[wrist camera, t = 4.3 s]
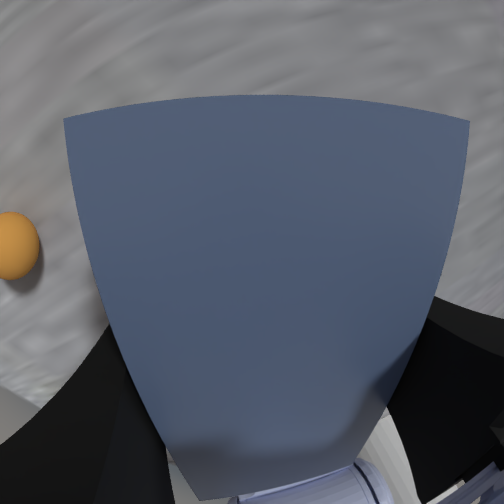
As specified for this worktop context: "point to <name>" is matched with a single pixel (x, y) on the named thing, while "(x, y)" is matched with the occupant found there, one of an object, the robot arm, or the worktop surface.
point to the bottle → (394, 463)
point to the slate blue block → (265, 269)
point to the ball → (17, 245)
